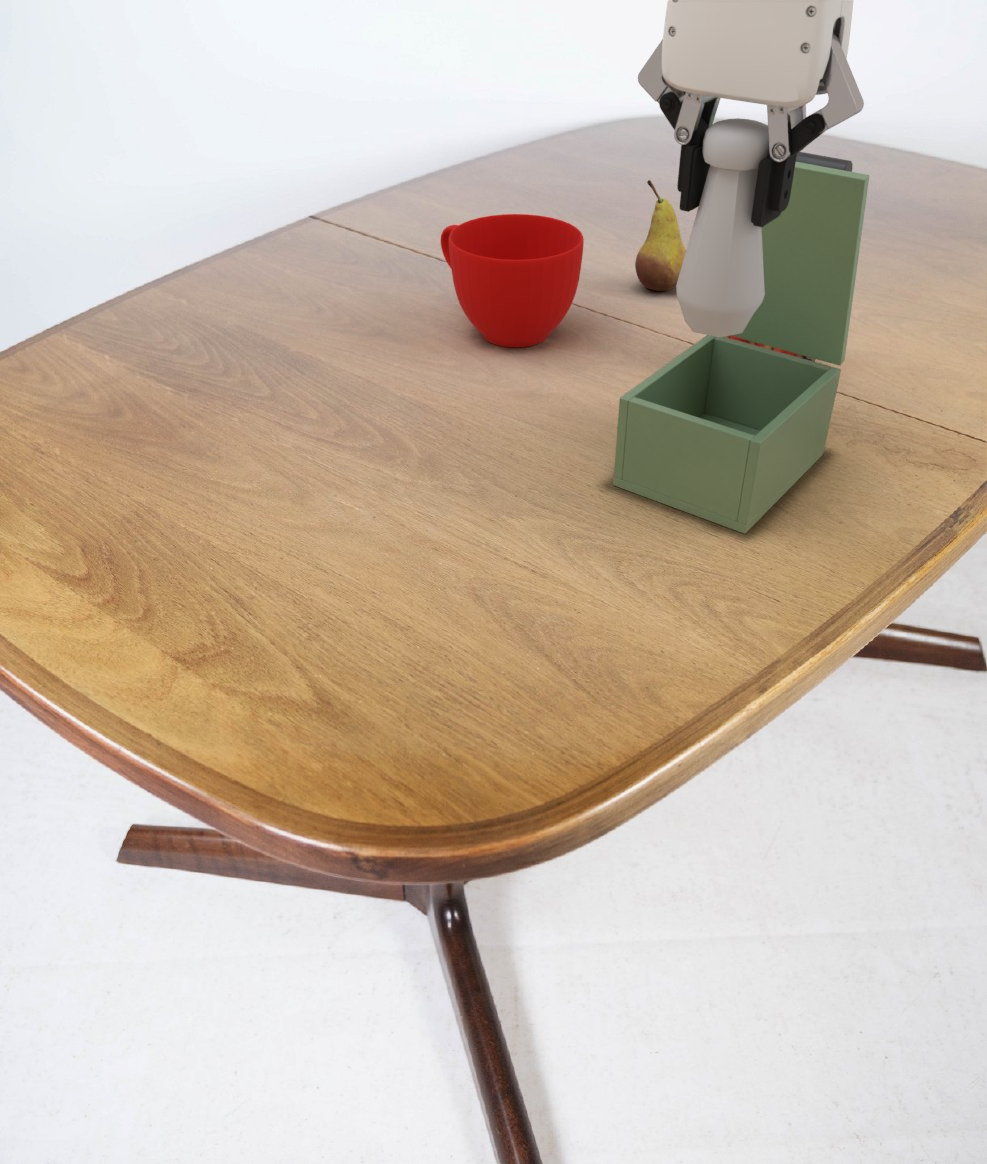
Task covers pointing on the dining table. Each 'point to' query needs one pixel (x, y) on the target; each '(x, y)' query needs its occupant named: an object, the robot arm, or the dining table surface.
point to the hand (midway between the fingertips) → (730, 210)
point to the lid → (812, 261)
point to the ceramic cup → (514, 274)
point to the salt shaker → (725, 234)
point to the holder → (724, 429)
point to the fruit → (661, 249)
